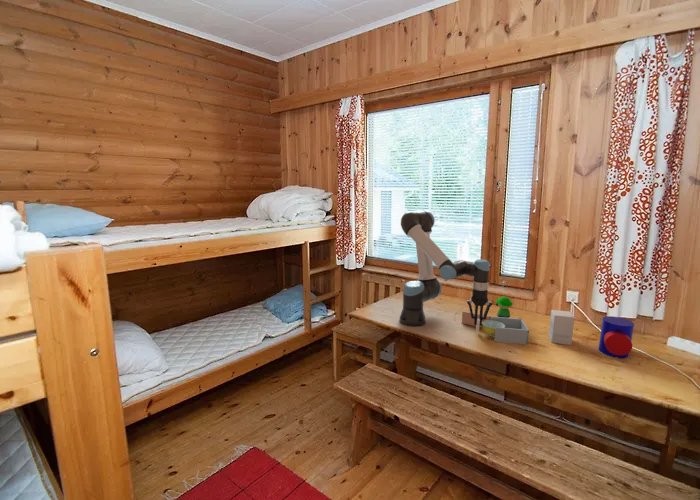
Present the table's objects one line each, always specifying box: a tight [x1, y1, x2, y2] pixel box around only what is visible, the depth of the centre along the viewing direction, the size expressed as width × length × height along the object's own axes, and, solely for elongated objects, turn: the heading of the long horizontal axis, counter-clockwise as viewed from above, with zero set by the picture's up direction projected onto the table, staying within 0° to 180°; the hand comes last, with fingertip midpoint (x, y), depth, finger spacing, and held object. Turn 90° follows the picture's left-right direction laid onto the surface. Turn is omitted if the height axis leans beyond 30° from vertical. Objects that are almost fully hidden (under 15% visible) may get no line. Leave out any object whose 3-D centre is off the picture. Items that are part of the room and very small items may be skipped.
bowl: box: [481, 320, 505, 338], centre depth 191 cm, size 11×12×6 cm
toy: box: [495, 296, 514, 318], centre depth 209 cm, size 9×9×15 cm
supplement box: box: [548, 309, 575, 346], centre depth 184 cm, size 9×9×15 cm
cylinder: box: [598, 315, 635, 359], centre depth 171 cm, size 20×12×16 cm, turn 150°
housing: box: [490, 315, 530, 345], centre depth 189 cm, size 16×16×8 cm
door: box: [461, 310, 491, 329], centre depth 203 cm, size 2×16×7 cm, turn 57°
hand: (477, 330), depth 193 cm, fingers closed
